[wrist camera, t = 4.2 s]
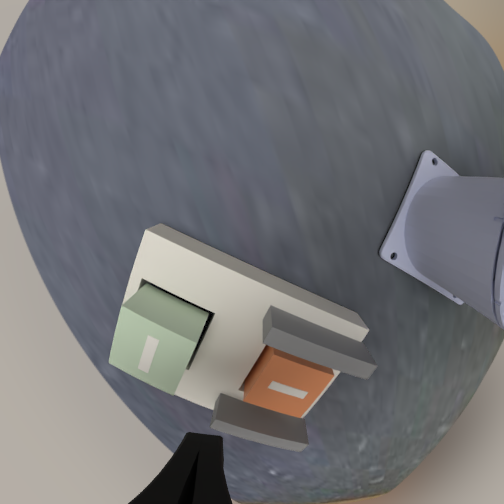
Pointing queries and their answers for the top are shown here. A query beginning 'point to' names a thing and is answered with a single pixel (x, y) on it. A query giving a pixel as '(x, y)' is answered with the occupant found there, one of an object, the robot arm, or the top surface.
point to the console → (247, 331)
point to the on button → (156, 337)
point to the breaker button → (285, 382)
